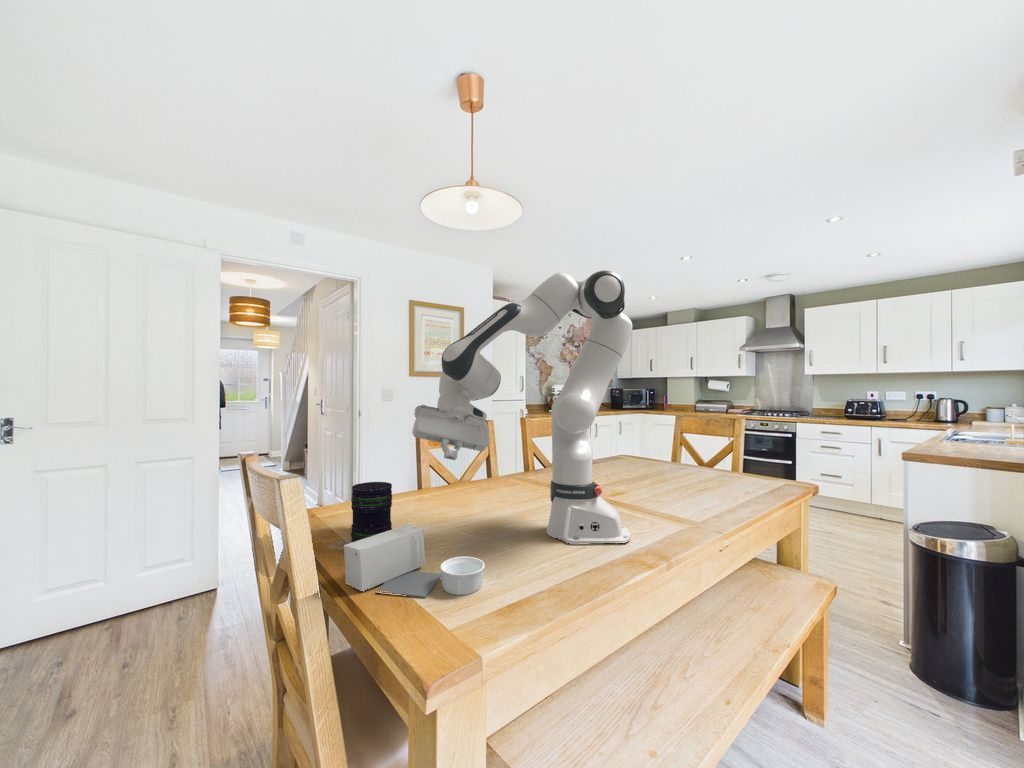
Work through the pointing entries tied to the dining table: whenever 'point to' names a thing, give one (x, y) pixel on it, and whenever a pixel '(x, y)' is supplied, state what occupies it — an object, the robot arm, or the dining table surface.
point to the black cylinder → (371, 509)
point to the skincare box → (383, 556)
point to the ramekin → (462, 575)
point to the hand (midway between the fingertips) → (450, 458)
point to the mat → (411, 584)
